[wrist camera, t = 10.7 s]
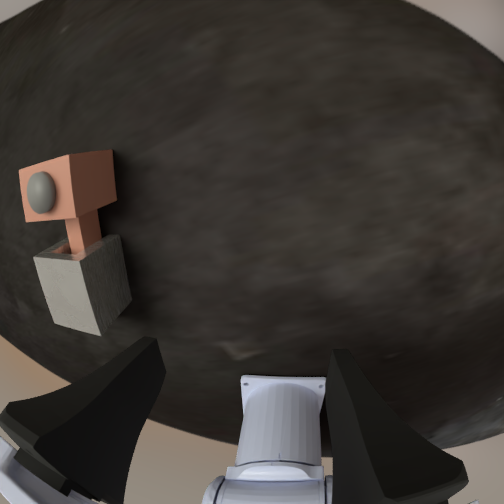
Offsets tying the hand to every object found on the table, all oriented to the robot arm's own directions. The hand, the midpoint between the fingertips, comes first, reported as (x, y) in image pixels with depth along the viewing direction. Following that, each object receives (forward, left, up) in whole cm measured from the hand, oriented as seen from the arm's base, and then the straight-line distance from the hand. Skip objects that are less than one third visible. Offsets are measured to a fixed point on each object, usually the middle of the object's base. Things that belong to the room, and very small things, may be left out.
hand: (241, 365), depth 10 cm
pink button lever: (+2, +14, -10) cm, 17 cm away
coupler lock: (-1, +14, -10) cm, 17 cm away
